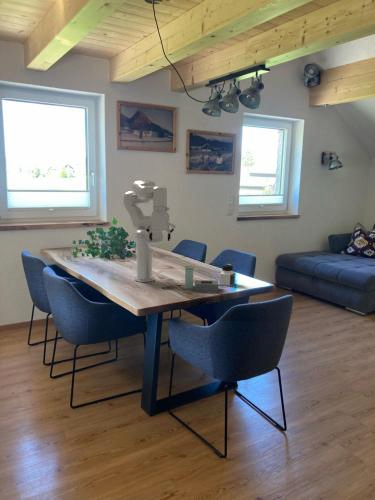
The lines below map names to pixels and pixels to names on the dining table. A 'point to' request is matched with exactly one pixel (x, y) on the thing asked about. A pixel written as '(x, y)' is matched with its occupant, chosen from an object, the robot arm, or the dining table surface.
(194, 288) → the pad
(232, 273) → the medicine bottle
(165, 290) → the dining table surface
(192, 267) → the plug
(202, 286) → the header
